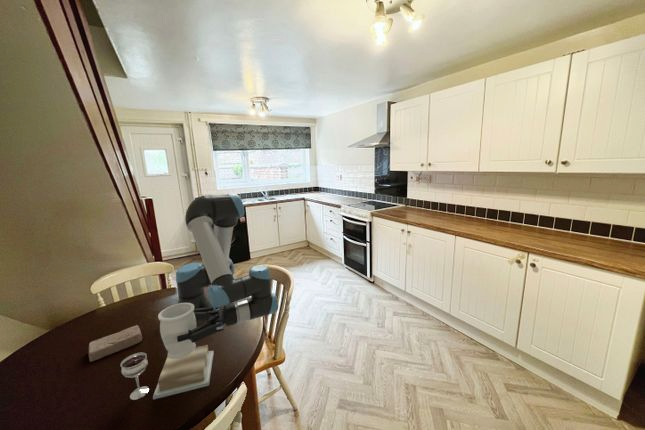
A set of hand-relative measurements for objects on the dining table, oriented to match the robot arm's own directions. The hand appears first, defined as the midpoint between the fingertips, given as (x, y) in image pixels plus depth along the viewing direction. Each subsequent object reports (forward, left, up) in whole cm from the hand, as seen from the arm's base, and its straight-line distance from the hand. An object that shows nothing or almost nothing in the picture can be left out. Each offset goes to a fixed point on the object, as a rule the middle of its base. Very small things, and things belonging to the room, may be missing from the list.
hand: (166, 331), depth 83 cm
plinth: (-1, +4, -18) cm, 18 cm away
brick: (-26, -26, -18) cm, 41 cm away
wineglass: (+3, -9, -18) cm, 20 cm away
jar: (-1, +4, -9) cm, 9 cm away
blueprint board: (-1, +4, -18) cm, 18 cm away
